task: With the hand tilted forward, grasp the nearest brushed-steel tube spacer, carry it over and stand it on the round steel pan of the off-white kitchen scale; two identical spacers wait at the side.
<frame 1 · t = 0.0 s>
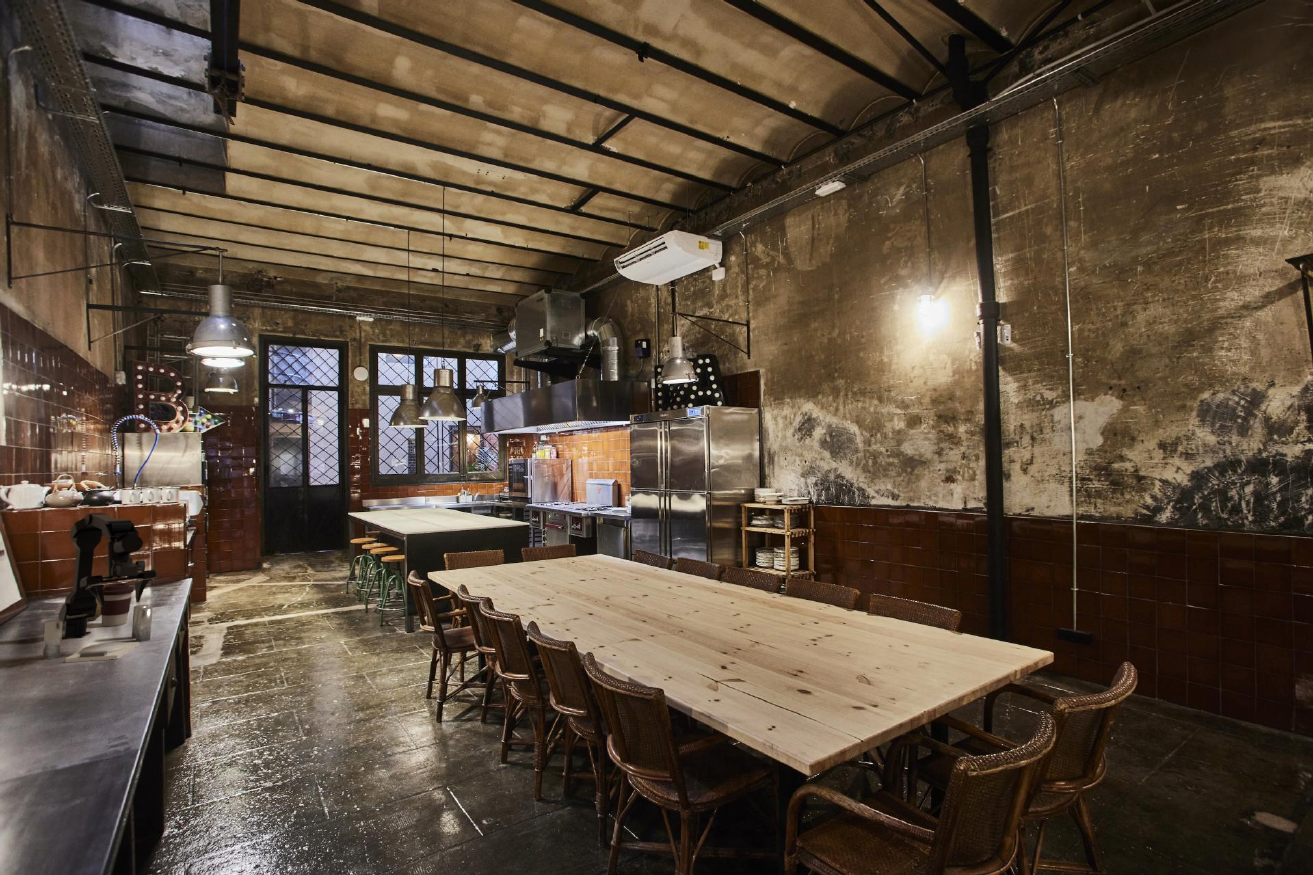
hand: (120, 604, 203), 15 cm above the countertop, tool pointing down, fingers open, 9 cm apart
natural sponge: (90, 621, 241), on the countertop
spacer c: (138, 637, 220), on the countertop
scale: (103, 653, 201), on the countertop
coffee cup: (114, 624, 236), on the countertop
spacer b: (142, 640, 216), on the countertop
spacer a: (51, 657, 195), on the countertop
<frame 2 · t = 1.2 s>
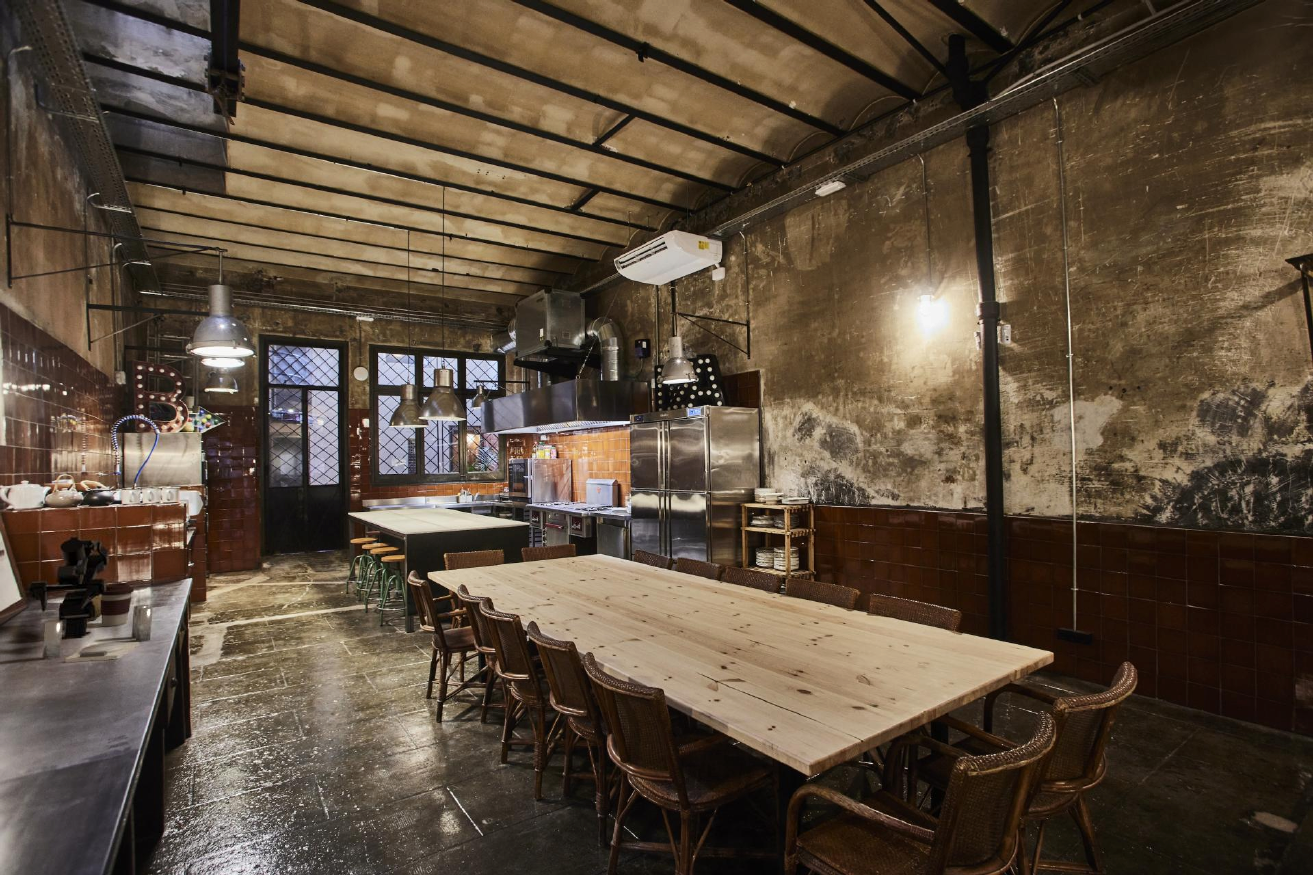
hand: (62, 609, 203), 13 cm above the countertop, tool tilted 45°, fingers open, 9 cm apart
nothing on the countertop moved.
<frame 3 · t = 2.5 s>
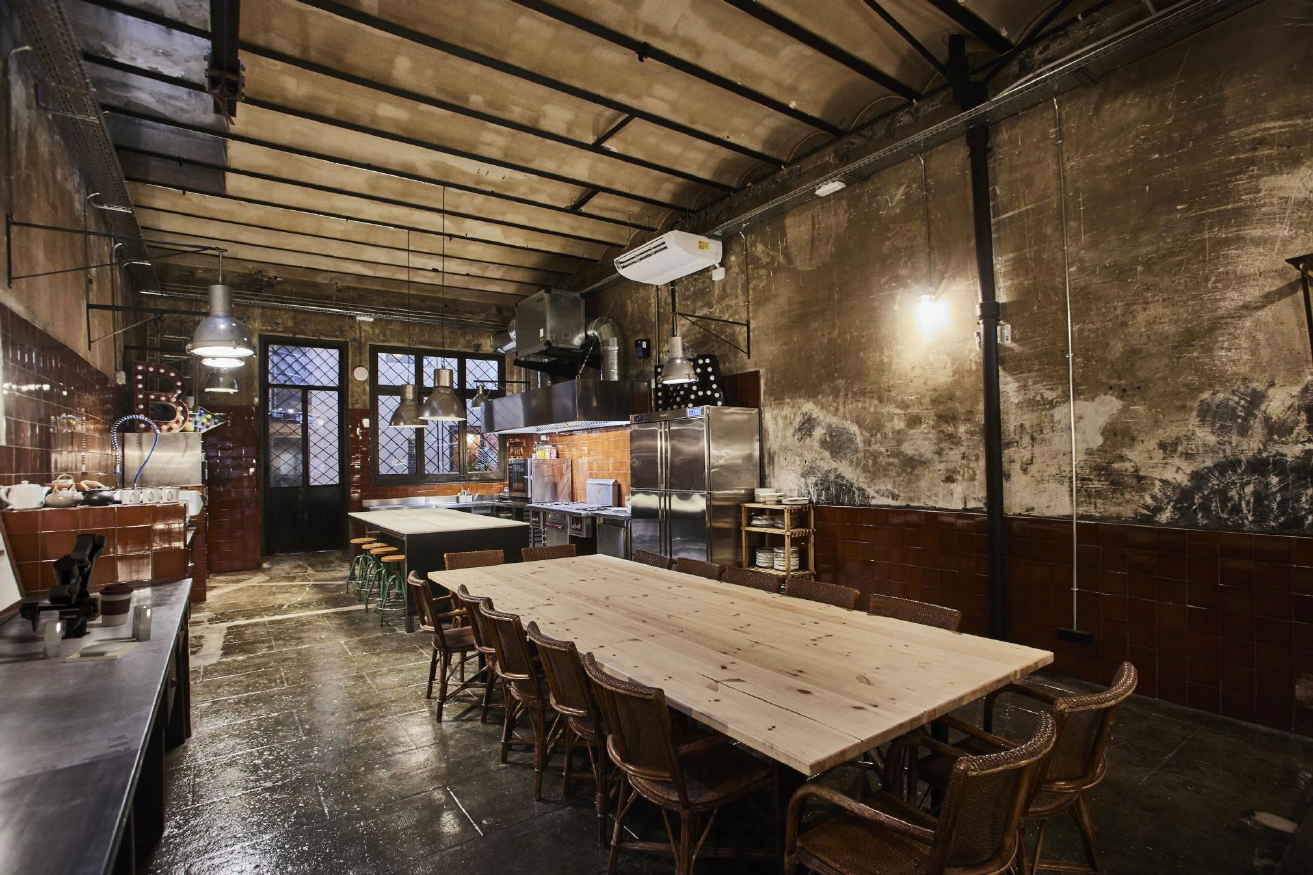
hand: (54, 630, 196), 8 cm above the countertop, tool tilted 45°, fingers open, 9 cm apart
nothing on the countertop moved.
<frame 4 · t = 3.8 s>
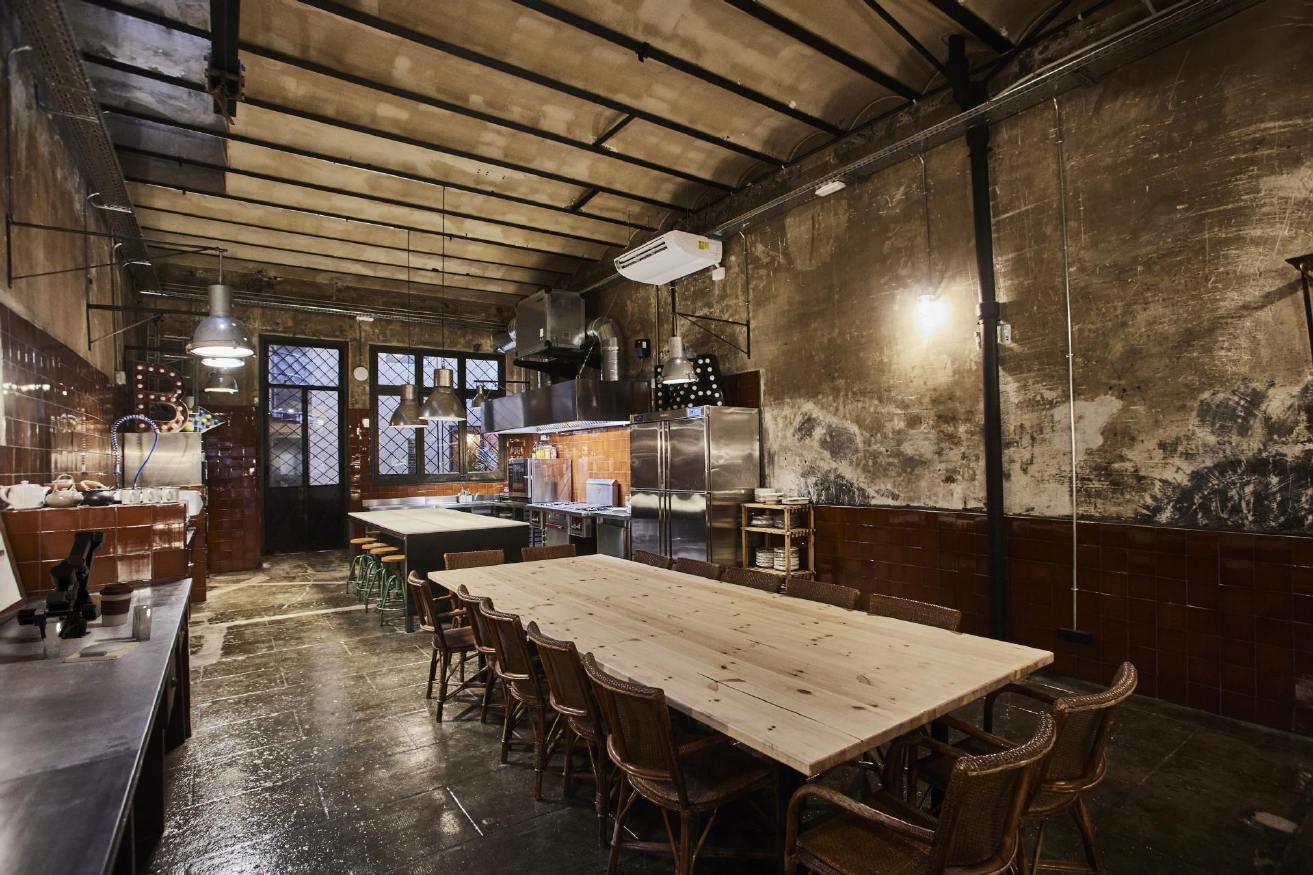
hand: (51, 637, 194), 7 cm above the countertop, tool tilted 45°, fingers closed on spacer a, 4 cm apart
spacer a: (51, 657, 195), on the countertop, touching gripper
everything else where it was.
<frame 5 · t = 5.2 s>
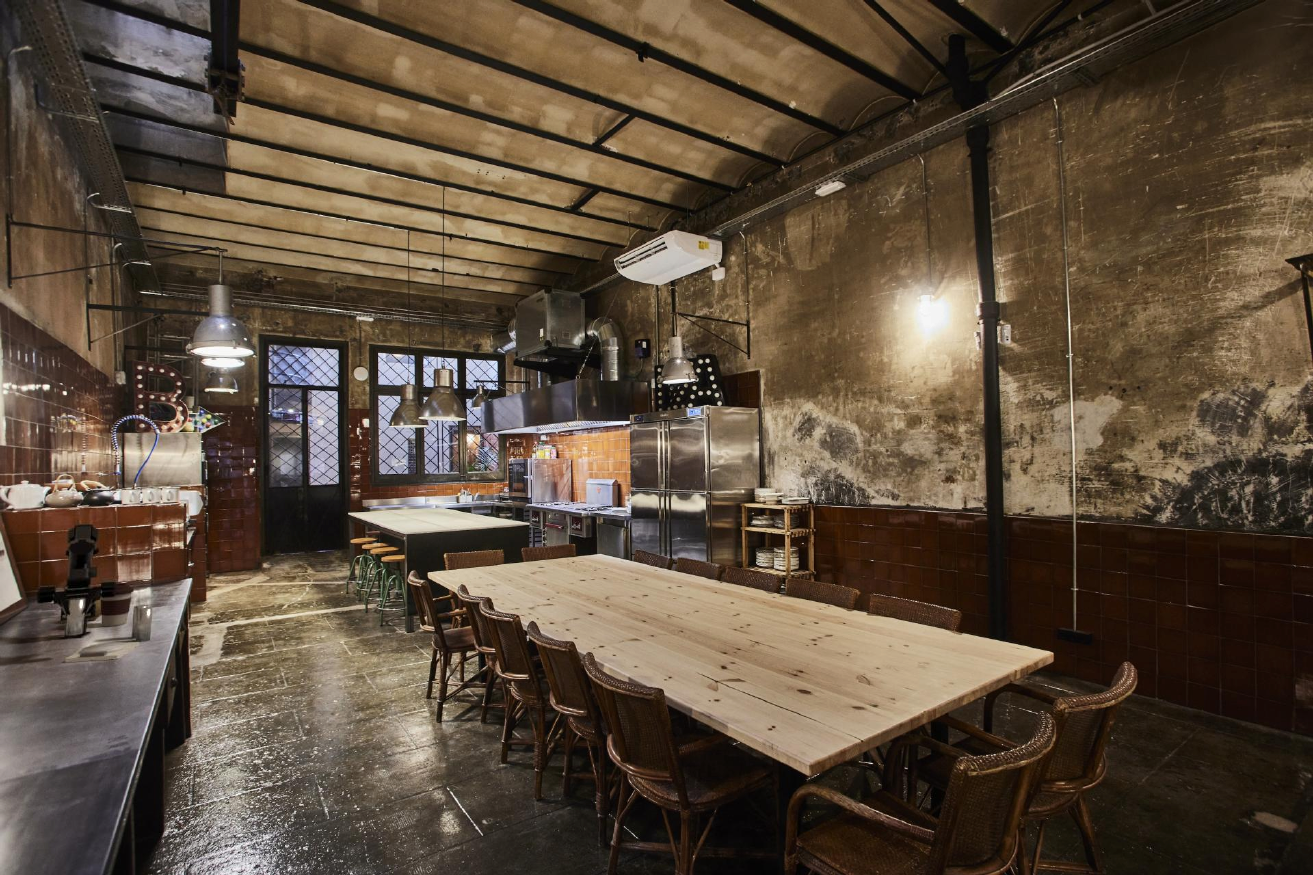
hand: (76, 613, 197), 14 cm above the countertop, tool tilted 45°, fingers closed on spacer a, 4 cm apart
spacer a: (74, 633, 197), point 7 cm above the countertop, touching gripper
everything else where it was.
when the fingers open (10 cm above the countertop, at t = 6.7 s): spacer a drops 1 cm, resting on scale.
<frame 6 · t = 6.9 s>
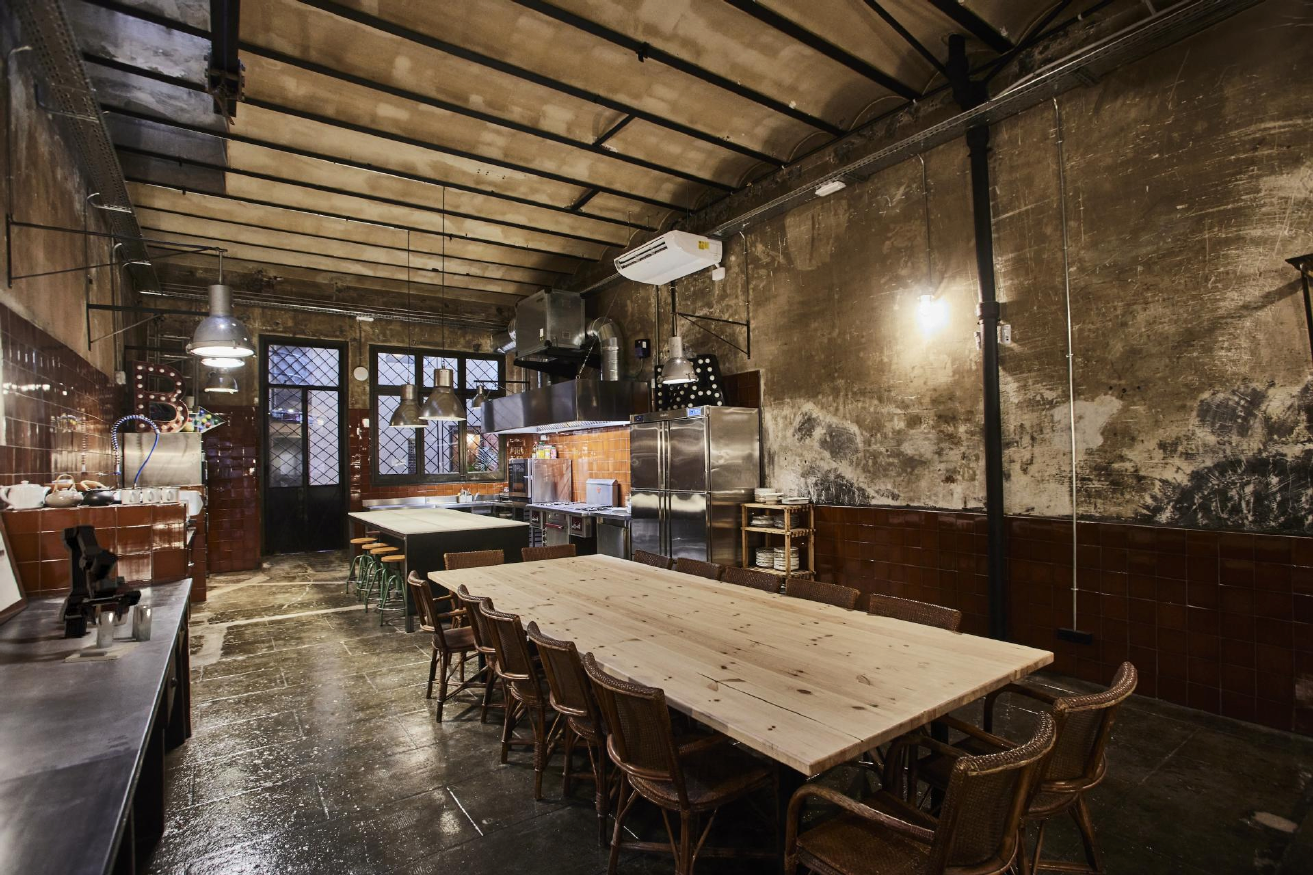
hand: (107, 622, 200), 10 cm above the countertop, tool tilted 45°, fingers open, 6 cm apart
spacer a: (104, 646, 201), point 2 cm above the countertop, touching scale
everything else where it was.
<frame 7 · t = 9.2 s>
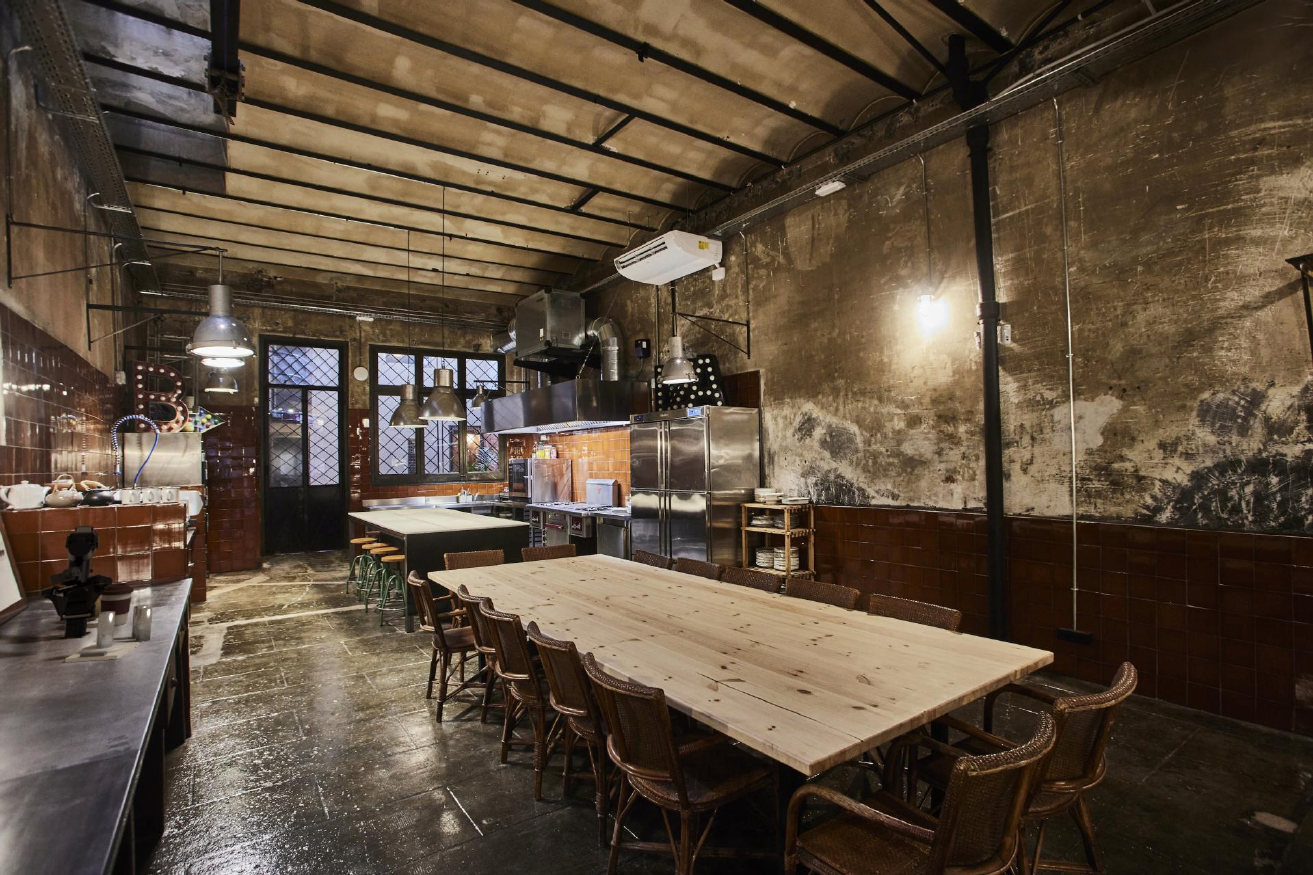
hand: (74, 612, 204), 12 cm above the countertop, tool tilted 25°, fingers open, 9 cm apart
nothing on the countertop moved.
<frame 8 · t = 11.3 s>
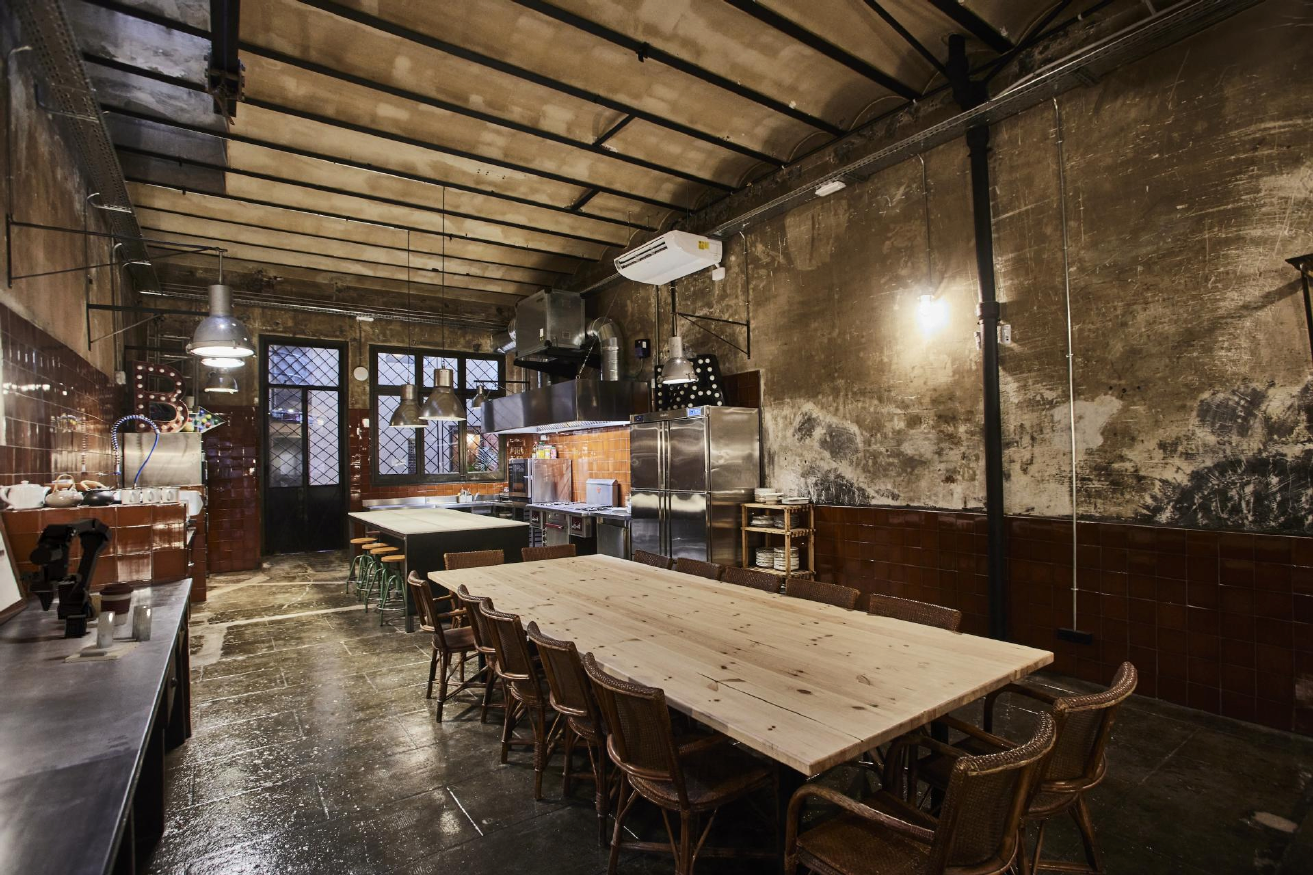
hand: (54, 608, 206), 13 cm above the countertop, tool pointing down, fingers open, 9 cm apart
nothing on the countertop moved.
at the end: spacer a inside the target area on the scale (0.1 cm from its centre), point 2.1 cm above the scale's base; spacer a tilted 0°; the gripper is holding nothing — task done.
